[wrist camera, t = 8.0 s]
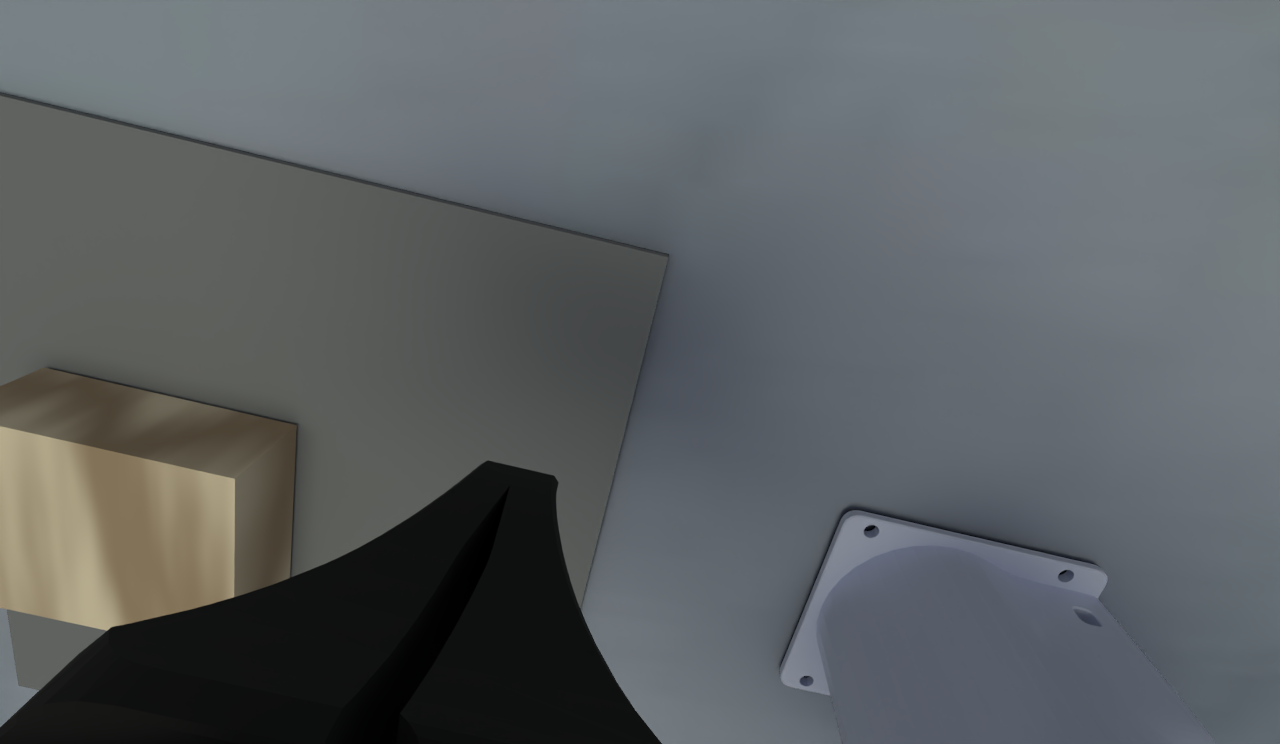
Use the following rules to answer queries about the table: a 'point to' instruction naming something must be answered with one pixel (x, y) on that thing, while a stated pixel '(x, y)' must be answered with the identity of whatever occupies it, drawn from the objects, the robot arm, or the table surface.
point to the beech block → (136, 501)
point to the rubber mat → (318, 325)
